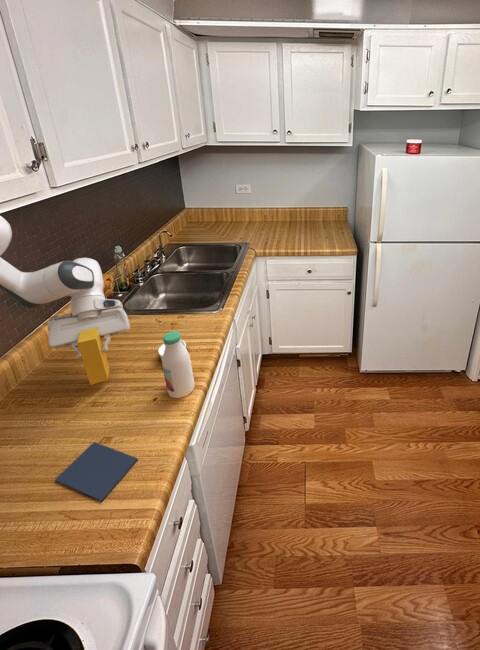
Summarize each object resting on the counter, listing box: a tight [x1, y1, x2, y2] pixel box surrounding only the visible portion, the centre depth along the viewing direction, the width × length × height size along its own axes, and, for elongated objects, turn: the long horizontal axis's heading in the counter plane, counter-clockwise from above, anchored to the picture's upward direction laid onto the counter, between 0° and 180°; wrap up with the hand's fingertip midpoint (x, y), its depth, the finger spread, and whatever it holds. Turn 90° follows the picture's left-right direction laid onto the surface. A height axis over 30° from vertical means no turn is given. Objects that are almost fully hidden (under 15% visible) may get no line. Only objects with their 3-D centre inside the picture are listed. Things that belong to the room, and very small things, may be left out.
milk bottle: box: [161, 330, 195, 399], centre depth 98 cm, size 8×8×20 cm
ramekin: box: [157, 339, 187, 361], centre depth 114 cm, size 9×9×4 cm
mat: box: [54, 441, 139, 503], centre depth 78 cm, size 14×10×1 cm
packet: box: [77, 327, 110, 386], centre depth 97 cm, size 6×4×15 cm
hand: (93, 354), depth 97 cm, fingers closed on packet, 4 cm apart
